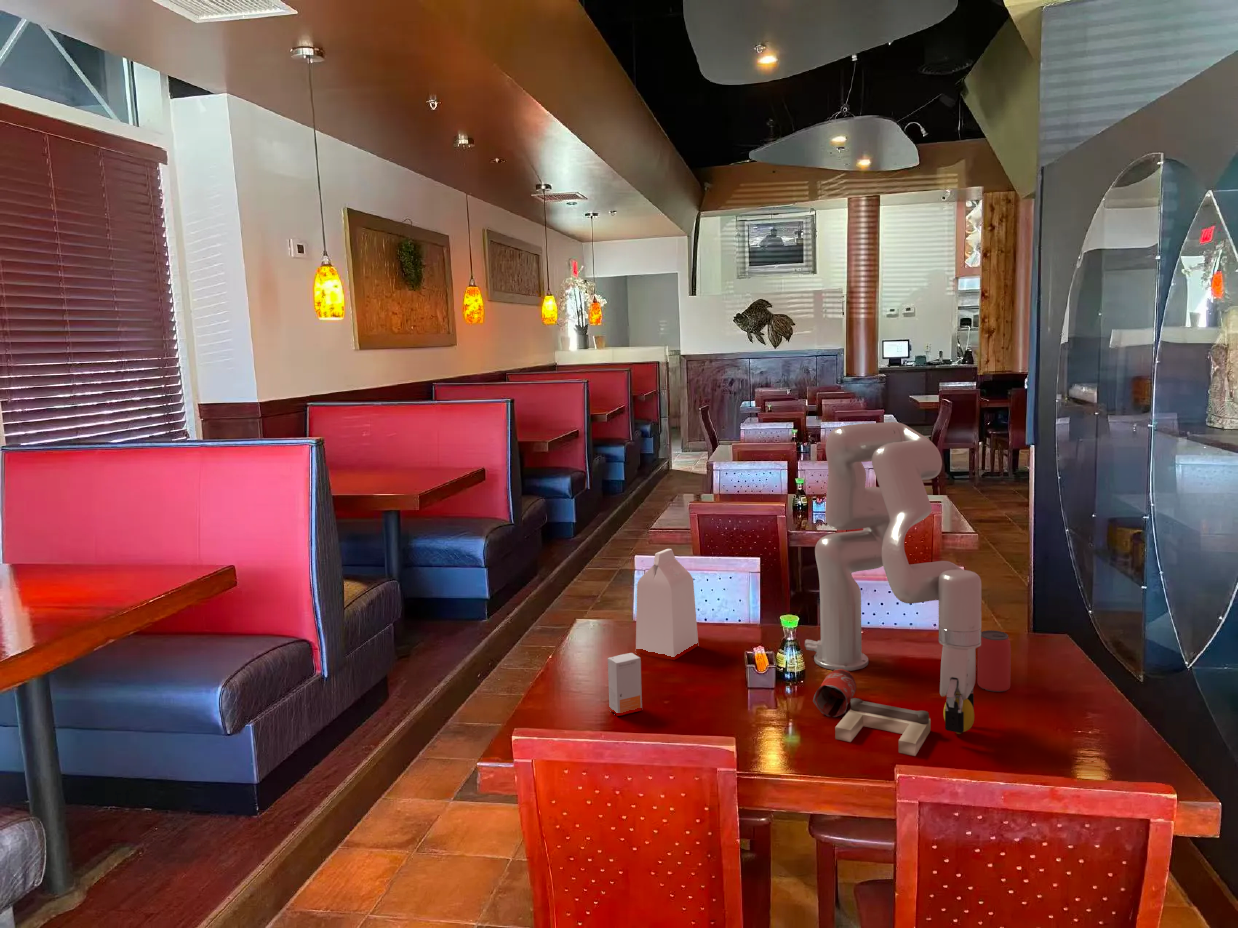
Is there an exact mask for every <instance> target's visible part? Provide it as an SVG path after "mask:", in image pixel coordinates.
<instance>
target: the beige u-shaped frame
mask: <svg viewBox="0 0 1238 928" xmlns="http://www.w3.org/2000/svg"><path fill="white" fill-rule="evenodd" d="M929 713H930V712H928V711H926V710H914V709H913V710H912V709H908V708H901V707H898V706H894V705H893V706H892V705H886V704H883V703H882V704H881V703H875V702H870V701H864V700H862V699H861V698H858V697H857V698H856V697H852V699H851V701H850V709H849V710H848V711H847V712H846V713H845V715H844V716H843V717H842V719H841V720H840V721H839V722H838V723H837V725H836V726H835V727H834V731H835V733H834V735H835V736H834V738H835V740H839V741H844V742H848V743H851V742H852V741H853V740H854V739H855V737H856V736H857V735H858V734H859V732H860V731H861V730H862V728H863V727H866V728H872V729H876V730H882V731H884V732H885V731H887V732H891V733H895V734H902V735H900V738H899V739H898V753H899V754H904V755H908V756H913V757H916V756H917V754H918V752H919V750H920V749H921V748H922V746H923V744H924V742H925V741H926V739H927V738H928V736H929V734H930V732H931V728H932V727H931V726H932V725H931V722H932V721H931V718H930V714H929Z"/></svg>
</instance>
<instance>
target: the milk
mask: <svg viewBox="0 0 1238 928" xmlns="http://www.w3.org/2000/svg"><path fill="white" fill-rule="evenodd" d="M675 556H676V555H675V554H674V551H673V549H672V548H666V549H663V550H661V551H658V552H656V553H655V554H654V559H653V560H654V561H653V565H652V566H651V567H649V569H647V571H646V572H645V573H644V574H642V576H641V577H640V578H639V580H638V581H637V584H636V617H635V618H636V619H635V622H636V623H635V631H636V632H635V650H636V649H643V650H646V651H648V652H655V653H658V654H665V655H667V656H671V657H675V656H676V655H677V654H680V653H681V652H683V651H684V650H686V649H688V648H689V647H691V646H693V645H694V644H697V643H698V644H699V635H698V621H697V610H696V609H697V608H696V597H695V596H696V595H695V586H694V585H695V583H694V578H693V575H692V574H691V573H690V572H689V571H688V570H687V569H686V568H685V567H684V565H682V563H680V562H679V561H678V559H676V557H675Z"/></svg>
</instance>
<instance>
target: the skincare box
mask: <svg viewBox="0 0 1238 928" xmlns="http://www.w3.org/2000/svg"><path fill="white" fill-rule="evenodd" d="M607 677H608V678H607V679H608V680H607V681H608V704H609V707H610V708H611V709H612V710H614V711H615V712H616V713H623V712H626V711H629V710H635V709H637V708H642V709H643V700H642V699H643V696H642V694H643V693H642V661H641V657H640V656H639V655H636V653H633V652H629V653H623V654H622V653H621V654H619V655H618V654H617V655H614V656H610V657H607Z"/></svg>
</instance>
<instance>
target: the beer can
mask: <svg viewBox="0 0 1238 928" xmlns="http://www.w3.org/2000/svg"><path fill="white" fill-rule="evenodd" d="M1011 645H1012V644H1011V641H1010V639H1009V634H1007V633H1006V632H1004V631H1001V630H993V629H990V630H983V631H981V646H980V647H977V676H976V677H977V678H976V679H977V683H976V684H977V685H978V687H980V688H981V689H982V690H984V689H985V691H989V692H994V693H1003V692H1006V691H1009V689H1010V688H1011V672H1012V671H1011V670H1012V669H1011V666H1012V663H1011V659H1012V654H1011V653H1012V646H1011Z"/></svg>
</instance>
